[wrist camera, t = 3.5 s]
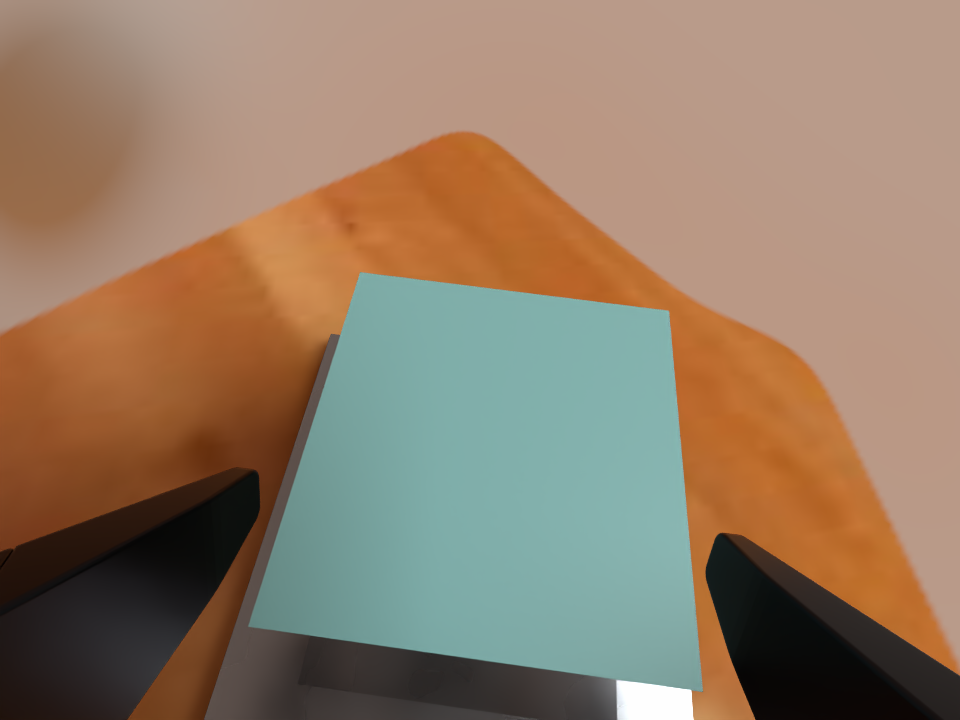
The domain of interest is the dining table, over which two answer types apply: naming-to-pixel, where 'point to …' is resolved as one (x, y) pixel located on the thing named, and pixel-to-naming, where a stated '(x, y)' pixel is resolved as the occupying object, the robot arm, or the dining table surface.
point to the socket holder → (400, 665)
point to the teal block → (494, 487)
